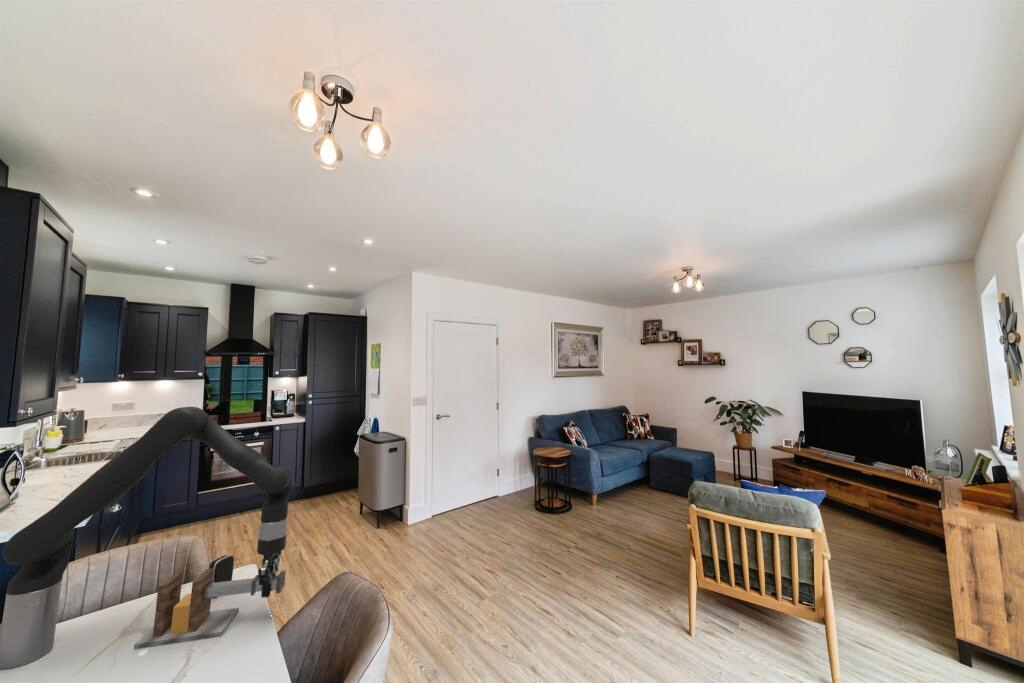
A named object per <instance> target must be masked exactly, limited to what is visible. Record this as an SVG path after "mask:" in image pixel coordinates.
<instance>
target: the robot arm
mask: <svg viewBox="0 0 1024 683" xmlns="http://www.w3.org/2000/svg"><path fill="white" fill-rule="evenodd" d="M188 438H191V439H195V440H196V441H199V442H200V443H202V444H204V445H206V446H207V447H209V448H210V449H211V450H213V452H215V454H217V455H218V456H219V458H221V460H222V461H224V463H226V465H228V466H230V467H231V468H233V469H234V470H236V471H238V472H239V473H240V474H242V475H244V476H246V477H247V478H248V479H249V480H250V481H251V482H252V483H254V485H255V486H256V487H257V488H259V489H260V490H261V491H263V492H265V493H266V496H265V500H264V502H263V504H262V508H261V513H260V514H261V515H260V522H259V528H258V535H257V536H258V537H257V547H256V552H257V554H258V555H261V556H263V559H261V561H260V562H261V563H260V566H261V568H260V567H259V568H258V570H257V572H258V573H257V575H258V576H259V586H261V585H262V591H261V593H260V594H261V595H260V596H261V598H269V597H270V596H271V592H273V591H274V590H271V582H272V576H277V572H278V571H279V566H280V562H281V557H282V556H281V554H282V551H284V550H285V549H286V544H287V534H288V533H287V532H288V531H287V530H288V512H289V511H288V509H289V499H290V494H291V490H292V483H293V472H292V471H291V469H290V468H289V467H287V466H283V465H281V466H276V467H274V466H273V465H272V464H270V463H269V462H268V459H267V457H266V456H264V455H263V454H262V453H261V452H258V451H257V449H256V450H255V449H254V448H252V447H251V446H249V445H247V444H246V443H244V442H243V441H242V440H240V439H238V438H237V437H235V436H234V435H232V434H231V433H230V432H228V431H227V430H226V429H225V428H224V427H222V426H221V425H220V424H218V422H217V421H215V419H214V418H212V416H210V415H209V413H207V412H206V411H205V410H203V409H202V408H200V407H198V406H183V407H182V406H181V407H177V408H173V409H171V410H170V411H168V412H167V413H165V414H164V415H163V416H162V417H161V418H159V420H158V421H156V422H155V423H154V425H152V426H151V428H149V429H148V430H147V431H146V432H145V433H144V434H143V435H142V436H141V437H139V438H138V439H137V440H136V441H135V442H134V443H132V444H131V445H129V446H128V447H127V448H125V449H124V450H122V451H121V452H120V453H118V454H117V455H116V456H114V457H113V458H112V459H110V460H109V461H108V462H106V463H105V464H104V465H102V466H101V467H100V468H99V469H98V470H96V471H95V472H94V473H93V474H91V475H90V476H89V477H88V478H87V479H86V480H84V481H83V482H82V483H81V484H80V485H79V486H77V487H76V488H75V489H73V491H71V492H70V493H69V494H68V495H66V497H64V498H63V499H62V500H61V501H59V503H58V504H57V505H55V506H54V507H53V508H51V509H50V510H49V511H47V512H45V513H43V515H41V516H40V517H38V518H37V519H35V520H34V521H33V522H31V523H30V524H28V525H27V526H25V527H23V528H22V529H20V530H19V531H17V532H16V533H15V534H14V535H12V536H11V537H10V538H9V540H8V541H7V542H6V543H5V545H4V548H3V551H2V558H3V560H4V561H5V563H7V564H9V565H11V566H16V567H18V566H19V567H20V566H21V567H20V569H19V570H18V571H17V573H16V574H15V575H14V576H13V577H12V578H11V579H10V580H9V581H8V583H7V587H6V588H7V589H6V594H5V602H4V607H3V608H4V609H3V616H2V621H1V623H0V670H5V669H4V668H8V669H12V668H16V667H20V666H23V665H27V664H29V663H31V662H34V661H36V660H38V659H40V658H42V657H44V656H45V655H47V654H48V653H49V652H51V651H52V649H53V648H54V642H55V634H56V629H57V628H56V626H57V620H58V613H59V606H60V599H61V598H60V597H61V591H62V584H63V577H64V576H63V575H64V573H65V571H66V570H67V567H68V565H69V563H70V558H71V553H72V549H73V543H74V535H75V534H74V533H75V532H74V529H75V528H76V527H78V525H80V524H81V523H82V522H85V520H87V519H89V518H91V517H92V516H94V515H95V514H97V513H98V512H101V511H102V510H104V509H105V508H107V507H108V506H109V505H111V504H113V503H114V502H115V501H117V500H119V499H120V498H121V497H122V496H123V495H125V494H126V493H127V492H129V491H130V490H131V489H132V488H133V487H134V486H135V485H137V484H138V483H139V482H140V481H141V480H143V478H144V477H145V476H146V475H147V474H148V472H149V471H150V470H151V468H152V467H153V465H154V464H155V463H156V462H157V460H158V459H159V458H161V456H163V455H164V454H165V453H166V452H168V451H169V450H171V448H173V447H174V446H176V445H178V444H179V443H180V442H181V441H183V440H186V439H188ZM265 579H266V580H265Z"/></svg>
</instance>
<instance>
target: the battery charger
mask: <svg viewBox="0 0 1024 683" xmlns="http://www.w3.org/2000/svg"><path fill="white" fill-rule="evenodd" d="M234 563H235V557H234V555H232V554H229V555H227V554H226V555H225V554H224V555H222V556H221V557H217V559H214V560H212V561H211V562H210V564H209V567H208V569H212V568H214V574H213V583H216V582H225V581H233V574H234V566H235V565H234ZM215 598H216V597H211V599H215Z"/></svg>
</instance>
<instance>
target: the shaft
mask: <svg viewBox="0 0 1024 683" xmlns="http://www.w3.org/2000/svg"><path fill="white" fill-rule="evenodd" d="M265 580H266V579H265ZM285 581H286V570H281V571H280V573H279V574H278V575H277V574H276V576H272V582H271V590H273V591H274V590H275V594H281V592H282V591H283V589H284V587H285V586H286V585H285V584H286V582H285ZM258 592H259V593H260V592H262V585H261V586H259V576H258V574H256V575H255V577H254V578H252V577H251V578H242V579H236V580H235V579H234V580H232V581H225V582H216V583H208V584H206V585H205V586H204V588H203V598H211V597H215V598H218V597H225V596H233V595H234V596H235V595H242V594H249V593H250V597H251V596H254V595H255V594H256V593H258ZM203 598H202V599H203ZM211 599H212V598H211Z"/></svg>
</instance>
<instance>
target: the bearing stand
mask: <svg viewBox="0 0 1024 683" xmlns="http://www.w3.org/2000/svg"><path fill="white" fill-rule="evenodd" d="M213 574H214V568H212V569H209V568H206V569H205V570H204V571H202V572H201V573H200V575H199V576H198V577H196V578H195V579H194V580H193V581H192V584H191V593H190V594H191V602H190V612H189V622H188V632H183V633H177V634H171V627H172V617H173V608H174V607H175V606H176V604H177V603H178V602H179V601H180V600H181V592H182V582H183V571H177V572H174V573H173V574H171V575H170V576H168V577H167V578H166V579H165V580H164V581H162V582H161V583H160V584H158V586H157V593H156V594H157V595H156V604H155V605H156V606H155V613H154V622H153V623H154V624H153V626H151V628H149V629H148V631H147V632H145V633H144V634H143V635H142V636H141V637H140V638H139V639H137V641H136V642H135V643H134V644H133V650H139V649H145V648H151V647H156V646H157V647H158V646H164V645H172V644H177V643H179V644H180V643H184V642H185V643H186V642H190V641H191V642H193V641H200V640H205V639H206V640H207V639H213V638H218V637H223V635H224V633H225V632H226V631H227V629H228V628H229V627H230V624H232V622H233V620H234V619H235V618H236V617H237V615H238V614H239V612H240V607H236V608H235V607H233V608H225V609H218V610H211V604H212V598H203V588H204V586H205V585H206V584H208V583H213ZM202 598H203V599H202Z"/></svg>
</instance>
